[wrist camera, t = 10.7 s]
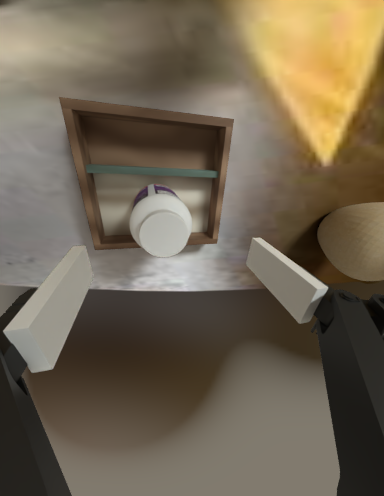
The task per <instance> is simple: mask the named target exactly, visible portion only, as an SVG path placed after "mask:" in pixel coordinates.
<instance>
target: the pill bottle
mask: <svg viewBox="0 0 384 496" xmlns="http://www.w3.org/2000/svg"><path fill="white" fill-rule="evenodd" d="M129 224H130V231H131V234H132V236H133V238H134V240H135V241H136V242H137V244H138V245H139V246H141V247H142V248H143V249H145V250H146V251H147V252H148V253H149V254H151V255H153V256H156V257H162V258H165V257H171V256H173V255H176V254H177V253H179V252H180V251H181V250H182V249H183V248H184V247H185V245H186V243H187V241H188V238H189V236H190V234H191V230H192V218H191V215H190V212H189V210H188V208H187V207H186V205H185V204H184V203H183V202H182V201H181V200H180V198H179V197H178V196H177V195H176V194H175V192H174V191H173V190H171V189H170V188H169V187H167V186H165V185H162V184H151V185H148V186H145V187H144V188H142V189H141V190H140V191H139V192H138V194H137V196H136V198H135V201H134V205H133V209H132V212H131V216H130V222H129Z"/></svg>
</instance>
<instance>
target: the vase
mask: <svg viewBox="0 0 384 496" xmlns="http://www.w3.org/2000/svg"><path fill="white" fill-rule="evenodd" d="M317 237H318V241H319V244H320V246H321V248H322V250H323V252H324V254H325V255H326V257H327V258H328V259H329V260H330V262H331V263H332V264H333V265H334V266H335V267H336V268H337V269H338V270H340V271H341V272H342V273H344V274H346V275H348V276H350V277H352V278H355V279H358V280H364V281H379V280H384V202H378V203H364V204H357V205H351V206H347V207H343V208H340V209H337V210H335V211H333V212H331V213H330V214H329V215H327V216H326V217H325V218H324V219H323V221H322V222H321V224H320V225H319V228H318V232H317Z"/></svg>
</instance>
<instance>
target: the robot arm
mask: <svg viewBox="0 0 384 496" xmlns="http://www.w3.org/2000/svg"><path fill="white" fill-rule="evenodd" d="M246 265H247V266H248V267H249V268H250V269H251V271H252V272H253V273H254V274H255V275H256V276H257V277H258V278H259V279H260V281H261V282H262V283H263V284H264V285H265V286H266V287H267V288H268V289H269V290H270V292H271V293H272V294H273V295H274V296H275V297H276V298H277V299H278V300H279V302H280V303H281V304H282V305H283V306H284V307H285V308H286V309H287V310H288V312H289V313H290V314H291V315H292V316H293V317H294V318H295V319H296V320H297V322H298V323H299V324H300V323H305V322H310V320H311V318H312V316H313V315H315V316H316V317H317V318H318V319H317V321H316V322H315V324H314V326H313V328H312V329H311V332H312V333H313V332H314V330H315V329H317V333H316V334H317V335H318V340H319V346H320V352H321V358H322V364H323V369H324V376H325V382H326V388H327V394H328V400H329V406H330V412H331V418H332V424H333V430H334V436H335V442H336V448H337V454H338V460H339V466H340V479H339V483H338V487H337V496H384V295H381V294H373V295H372V296H371V298H370V299H369V300H362V299H360V298H359V297H357V296H356V295H354V294H352V293H350V292H347V291H344V290H333V289H332V288H331V287H329V286H328V285H327V284H325V283H324V282H322V281H321V280H320V279H318V278H317V277H315V276H314V275H313V274H311V273H310V272H309V271H307V270H306V269H304V268H303V267H301V266H299V265H297V264H296V263H294V262H293V261H291V260H290V259H289V258H287V257H286V256H285V255H283V254H282V253H281V252H279V251H278V250H276V249H275V248H274V247H272V246H271V245H270V244H268V243H267V242H265V241H264V240H263V239H261V238H252V242H251V246H250V250H249V254H248V258H247V262H246ZM93 278H94V276H93V272H92V268H91V265H90V261H89V257H88V253H87V249H86V246H73V247H72V248H71V249H70V250H69V252H68V253H67V254H66V255H65V257H64V258H63V259H62V260H61V261H60V263H59V264H58V265H57V266H56V267H55V269H54V270H53V271H52V272H51V274H50V275H49V276H48V277H47V278H46V280H45V281H44V282H43V283H42V284H41V286H40V287H39V288H33V289H30V290H28V291H27V292H25V293H24V294H22V295H21V296H19V298H18V299H17V300H16V301H15V302H14V303H13V304H12V306H10V307H9V308H8V310H7V311H6V313H4V314H3V315H2V316H1V317H0V496H72V495H71V493H70V490H69V488H68V486H67V483H66V481H65V478H64V476H63V473H62V471H61V468H60V466H59V463H58V461H57V459H56V456H55V454H54V451H53V449H52V447H51V444H50V442H49V439H48V437H47V434H46V432H45V430H44V427H43V425H42V422H41V420H40V417H39V415H38V413H37V410H36V408H35V405H34V403H33V401H32V398H31V396H30V393H29V391H28V388H27V386H26V384H25V381H24V379H23V378H22V377H21V375H22V373H23V372H24V370H25V368H26V366H28V368H29V369H30V370H31V372H32V373H35V372H40V371H46V370H51V369H53V368H54V365H55V363H56V361H57V359H58V356H59V354H60V352H61V350H62V347H63V345H64V343H65V340H66V338H67V336H68V334H69V332H70V329H71V327H72V325H73V323H74V320H75V318H76V316H77V313H78V311H79V309H80V307H81V305H82V302H83V300H84V298H85V296H86V293H87V291H88V289H89V287H90V284H91V282H92V280H93Z"/></svg>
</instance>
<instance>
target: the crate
mask: <svg viewBox="0 0 384 496" xmlns="http://www.w3.org/2000/svg"><path fill="white" fill-rule="evenodd" d="M59 99H60V103H61V107H62V112H63V116H64V120H65V124H66V129H67V133H68V137H69V141H70V146H71V150H72V154H73V158H74V163H75V167H76V171H77V175H78V180H79V184H80V188H81V192H82V197H83V201H84V205H85V209H86V214H87V218H88V222H89V226H90V231H91V235H92V239H93V243H94V248H95V250H104V249H123V248H141V246H139V245H138V244H137V242H136V241H135V240H134V238H133V236H132V234H131V231H130V224H129V222H130V216H131V212H132V209H133V205H134V201H135V198H136V196H137V194H138V192H139V191H140V190H141V189H142V188H144V187H145V186H148V185H151V184H162V185H165V186H167V187H169V188H170V189H171V190H173V191H174V192H175V194H176V195H177V196H178V197H179V198H180V200H181V201H182V202H183V203H184V204H185V205H186V207H187V208H188V210H189V212H190V215H191V218H192V230H191V234H190V236H189V238H188V241H187V243H186V245H197V244H215V243H217V239H218V232H219V225H220V217H221V210H222V203H223V195H224V188H225V181H226V173H227V166H228V159H229V151H230V144H231V136H232V129H233V122H234V119H229V118H221V117H213V116H205V115H197V114H189V113H181V112H173V111H165V110H157V109H149V108H141V107H133V106H125V105H117V104H109V103H101V102H93V101H86V100H78V99H70V98H62V97H59Z"/></svg>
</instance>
